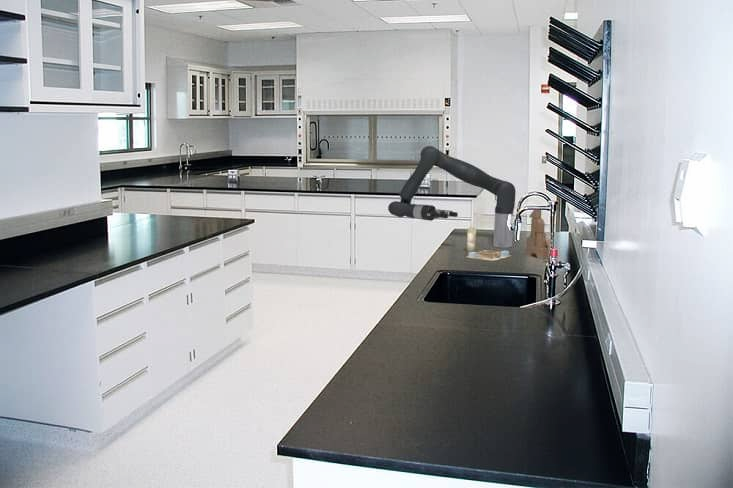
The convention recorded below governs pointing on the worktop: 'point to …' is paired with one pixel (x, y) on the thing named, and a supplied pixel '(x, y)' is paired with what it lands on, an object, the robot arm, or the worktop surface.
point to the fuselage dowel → (471, 239)
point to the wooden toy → (537, 238)
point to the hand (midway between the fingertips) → (452, 215)
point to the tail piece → (473, 254)
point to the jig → (489, 255)
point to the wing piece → (504, 253)
